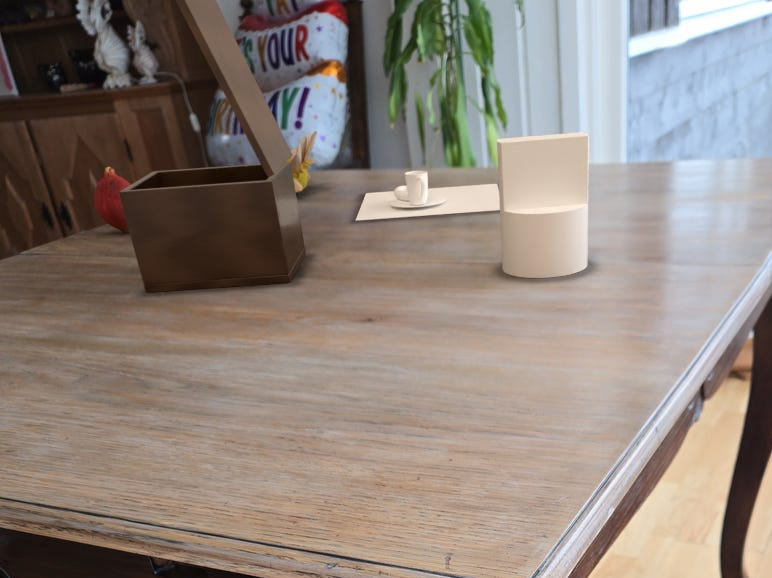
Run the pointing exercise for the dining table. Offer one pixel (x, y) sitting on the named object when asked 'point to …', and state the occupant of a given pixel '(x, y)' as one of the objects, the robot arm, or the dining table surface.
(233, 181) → the chest
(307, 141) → the decorative flower
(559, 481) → the dining table surface
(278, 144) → the chest lid
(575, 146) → the base with upright slab
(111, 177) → the onion
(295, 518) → the dining table surface
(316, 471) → the dining table surface
